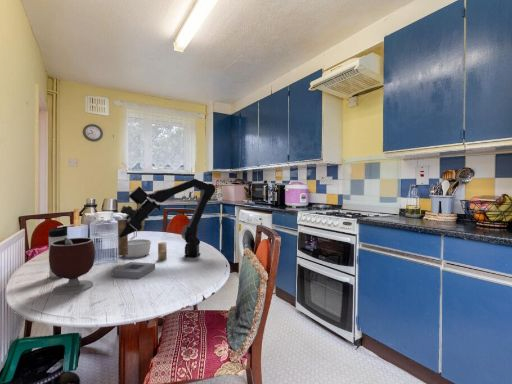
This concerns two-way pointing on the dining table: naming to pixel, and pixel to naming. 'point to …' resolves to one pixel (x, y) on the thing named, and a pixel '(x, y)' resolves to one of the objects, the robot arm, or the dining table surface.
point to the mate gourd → (72, 263)
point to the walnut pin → (124, 240)
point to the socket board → (133, 270)
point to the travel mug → (56, 235)
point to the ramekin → (138, 247)
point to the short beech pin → (162, 251)
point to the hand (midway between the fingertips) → (119, 236)
